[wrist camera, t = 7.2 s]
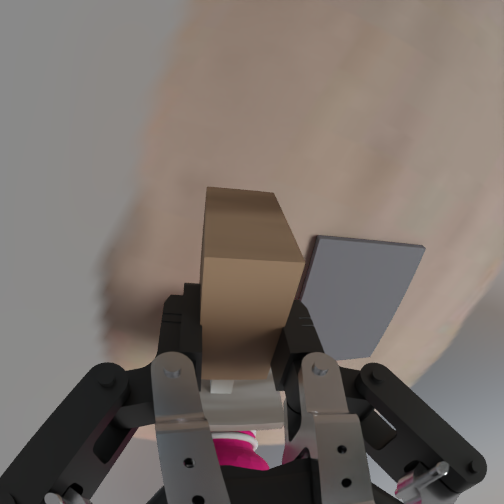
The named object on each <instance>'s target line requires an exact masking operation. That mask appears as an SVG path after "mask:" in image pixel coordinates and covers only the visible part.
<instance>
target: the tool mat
mask: <svg viewBox="0 0 504 504" xmlns="http://www.w3.org/2000/svg"><path fill="white" fill-rule="evenodd" d="M425 249H426V248H425V247H424V246H423V245H414V244H405V243H395V242H385V241H375V240H365V239H355V238H344V237H333V236H322V235H318V236H317V239H316V243H315V247H314V250H313V254H312V257H311V261H310V264H309V268H308V271H307V275H306V278H305V281H304V285H303V288H302V291H301V295H300V298H299V300H300V301H301V302H302V303H303V304H304V305H305V306H306V307H307V309H308V311H309V314H310V316H311V319H312V321H313V324H314V327H315V329H316V332H317V334H318V337H319V339H320V342H321V344H322V347H323V350H324V352H325V354H327V355H329V356H331V357H332V358H334V359H335V360H346V359H356V358H365V357H370V356H371V354H372V353H373V351H374V349H375V348H376V346H377V344H378V343H379V341H380V339H381V338H382V336H383V334H384V332H385V331H386V329H387V327H388V325H389V323H390V322H391V320H392V318H393V316H394V314H395V312H396V310H397V308H398V307H399V305H400V303H401V301H402V299H403V297H404V295H405V293H406V291H407V289H408V287H409V285H410V282H411V280H412V278H413V276H414V274H415V272H416V270H417V267H418V265H419V263H420V261H421V258H422V256H423V254H424V251H425Z"/></svg>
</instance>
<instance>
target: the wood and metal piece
mask: <svg viewBox="0 0 504 504" xmlns="http://www.w3.org/2000/svg"><path fill="white" fill-rule="evenodd" d="M304 266H305V260H304V258H303V256H302V254H301V251H300V249H299V247H298V245H297V242H296V240H295V238H294V236H293V234H292V231H291V229H290V227H289V225H288V223H287V220H286V218H285V216H284V214H283V212H282V210H281V207H280V205H279V203H278V201H277V199H276V197H275V195H274V193H270V192H261V191H251V190H240V189H229V188H217V187H207V191H206V202H205V213H204V225H203V238H202V251H201V266H200V282H199V284H201V294H200V325H202V373H201V392H199V394H200V399H201V403H202V408H203V412H204V416H205V418H206V419H207V421H208V423H209V427H210V431H252V430H269V429H281V428H282V427H283V425H284V411H283V407H282V402H281V397H280V392H279V391H276V389H275V384H274V380H273V375H272V370H271V366H270V363H271V360H272V357H273V355H274V352H275V349H276V346H277V343H278V340H279V337H280V334H281V331H282V328H283V327H285V325H286V322H287V319H288V316H289V313H290V310H291V307H292V304H293V301H294V298H295V295H296V291H297V288H298V285H299V282H300V279H301V276H302V273H303V269H304Z"/></svg>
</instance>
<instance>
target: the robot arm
mask: <svg viewBox="0 0 504 504" xmlns="http://www.w3.org/2000/svg"><path fill="white" fill-rule="evenodd" d="M200 294H201V284H196V283H184V294H183V295H170V296H169V298H168V299H167V300H166V301H165V303H164V308H163V315H162V323H161V329H160V336H159V344H158V352H157V355H156V357H155V359H154V360H153V361H152V362H151V363H150V364H149V365H147V366H145V367H143V368H139V369H134V370H129V371H125V370H124V369H123V368H122V367H121V366H119V365H117V364H114V363H101V364H98V365H96V366H94V367H93V368H92V369H91V370H90V371H89V372H88V373H87V374H86V375H85V376H84V377H83V379H82V380H81V381H80V382H79V383H78V384H77V385H76V386H75V388H74V389H73V390H72V391H71V392H70V393H69V394H68V396H67V397H66V398H65V399H64V400H63V401H62V403H61V404H60V405H59V406H58V407H57V408H56V410H55V411H54V412H53V413H52V414H51V415H50V417H49V418H48V419H47V420H46V421H45V423H44V424H43V425H42V426H41V427H40V429H39V430H38V431H37V432H36V434H35V435H34V436H33V437H32V438H31V439H30V441H29V442H28V443H27V445H26V446H25V447H24V448H23V449H22V451H21V452H20V453H19V454H18V456H17V457H16V458H15V459H14V461H13V462H12V463H11V464H10V466H9V467H8V468H7V470H6V471H5V472H4V473H3V475H2V476H1V477H0V504H93V503H92V502H90V499H91V497H92V496H93V494H94V493H95V491H96V490H97V488H98V487H99V485H100V484H101V482H102V481H103V479H104V478H105V476H106V475H107V474H108V472H109V471H110V469H111V468H112V466H113V465H114V463H115V462H116V460H117V459H118V457H119V456H120V454H121V453H122V451H123V450H124V448H125V447H126V445H127V444H128V442H129V441H130V439H131V438H132V436H133V435H134V433H135V432H136V430H137V429H138V427H140V426H145V425H150V424H155V430H156V438H157V445H158V452H159V459H160V465H161V471H162V476H163V482H164V486H163V487H162V488H161V489H159V491H158V492H157V493H156V494H155V495H154V496H153V497H152V498H151V499H150V500H149V501H148V502H147V503H146V504H454V502H455V501H456V499H457V498H458V497H459V495H460V494H461V493H462V492H464V491H465V490H467V489H469V488H471V487H472V486H474V485H476V484H477V483H479V482H481V481H482V480H483V479H484V477H485V475H486V472H487V464H486V461H485V459H484V457H483V456H482V455H481V454H480V453H479V452H478V451H477V450H476V449H475V448H473V446H471V445H470V444H469V443H468V442H467V441H466V440H465V439H464V438H463V437H462V436H461V435H460V434H459V433H457V432H456V431H455V430H454V429H453V428H452V427H451V426H450V425H449V424H448V423H447V422H446V421H444V420H443V419H442V418H441V417H440V416H439V415H438V414H437V413H436V412H435V411H434V410H433V409H431V408H430V407H429V406H428V405H427V404H426V403H425V402H424V401H423V400H422V399H420V398H419V397H418V396H417V395H416V394H415V393H414V392H413V391H412V390H411V389H410V388H409V387H408V386H406V385H405V384H404V383H403V382H402V381H401V380H400V379H399V378H398V377H397V376H395V375H394V374H393V373H392V372H391V371H390V370H389V369H388V368H387V367H385V366H384V365H381V364H379V363H368V364H366V365H364V366H363V368H362V369H361V371H359V370H353V369H348V368H343V367H340V366H339V365H338V363H337V362H336V360H335V359H334V358H332V357H331V356H329V355H327V354H325V352H324V350H323V347H322V344H321V342H320V339H319V337H318V334H317V332H316V329H315V327H314V324H313V321H312V319H311V316H310V314H309V311H308V309H307V307H306V306H305V305H304V304H303V303H302V302H301V301H300V300H294V301H293V304H292V307H291V310H290V313H289V316H288V319H287V322H286V325H285V327H283V328H282V331H281V334H280V337H279V340H278V343H277V346H276V349H275V352H274V355H273V357H272V360H271V363H270V366H271V370H272V375H273V380H274V384H275V389H276V391H285V394H286V399H285V401H284V428H285V449H284V454H283V458H282V465H280V466H277V467H274V468H271V469H268V470H256V469H249V468H243V467H237V466H232V465H219V461H218V458H217V454H216V450H215V446H214V442H213V439H212V435H211V431H210V427H209V423H208V421H207V419H206V418H205V416H204V412H203V408H202V403H201V399H200V394H199V392H201V373H202V325H200ZM374 409H376V410H377V411H378V412H379V413H380V414H381V415H382V416H383V417H384V418H385V419H387V421H388V422H389V423H391V424H392V425H393V426H394V428H395V429H396V430H394V429H392V428H391V427H390V426H389V425H388V424H387V423H386V422H385V421H384V420H383V419H382V418H381V417H380V416H379V415H378V414H377V413H376V412H375V411H374ZM366 453H367V454H368V455H370V456H371V458H372V459H373V460H374V461H375V462H376V463H377V464H378V465H379V466H380V467H381V468H382V469H383V470H384V471H385V472H386V473H387V474H388V475H389V476H390V477H391V478H392V479H393V480H395V482H397V489H396V490H395V496H396V497H397V498H399V499H402V500H403V502H404V503H402V502H401V501H399V500H398V499H396V498H394V497H393V496H391V495H390V494H388V493H386V492H385V491H384V490H382V489H381V488H379V487H377V486H376V485H375V484H373V483H372V482H371V479H370V473H369V467H368V462H367V456H366Z"/></svg>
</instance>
